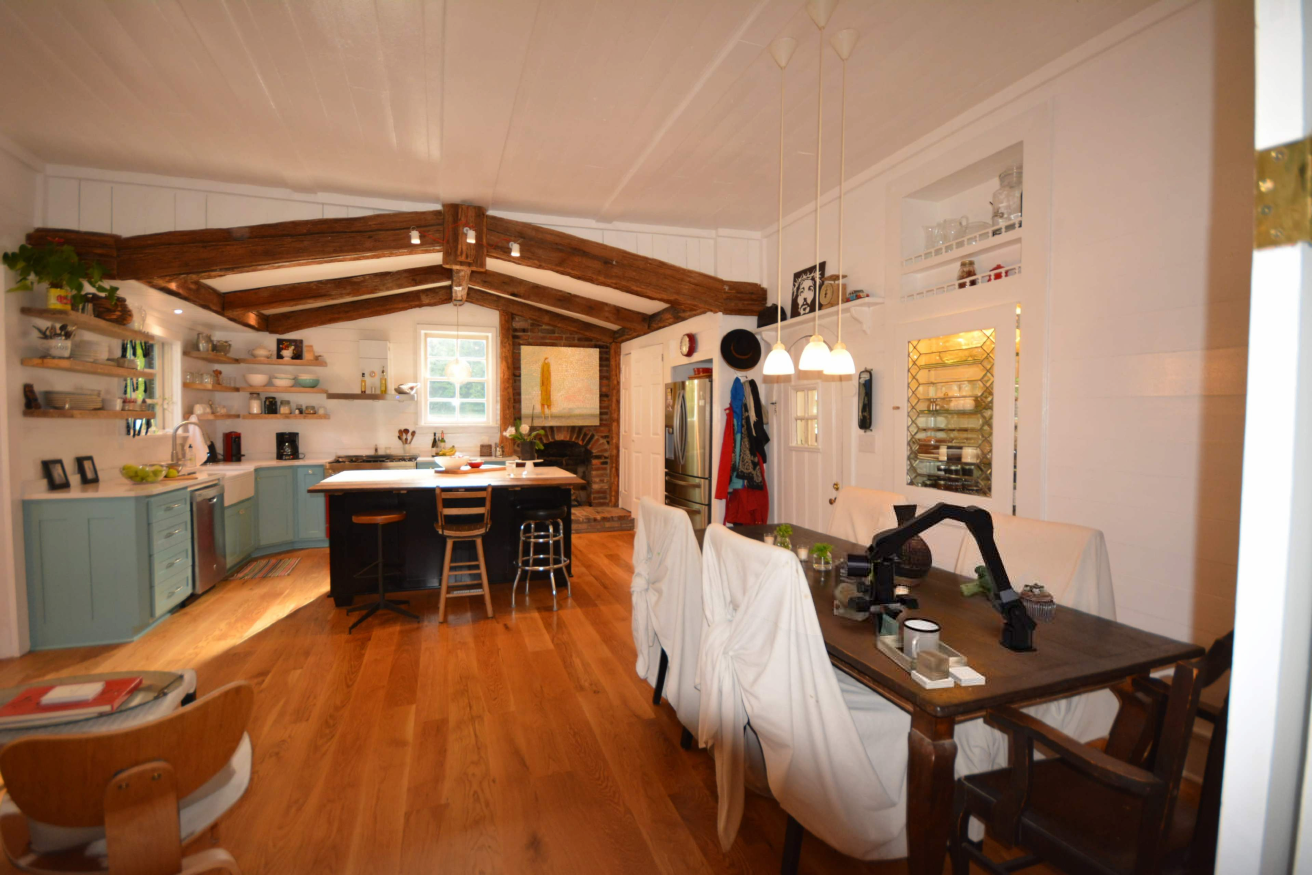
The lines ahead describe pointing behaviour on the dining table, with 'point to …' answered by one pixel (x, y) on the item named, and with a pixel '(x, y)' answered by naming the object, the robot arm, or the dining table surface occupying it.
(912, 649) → the mug
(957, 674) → the broken cream strip
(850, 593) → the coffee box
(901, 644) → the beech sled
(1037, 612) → the cupcake
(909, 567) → the ceramic vessel
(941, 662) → the beige cube
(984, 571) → the vegetable
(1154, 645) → the dining table surface
